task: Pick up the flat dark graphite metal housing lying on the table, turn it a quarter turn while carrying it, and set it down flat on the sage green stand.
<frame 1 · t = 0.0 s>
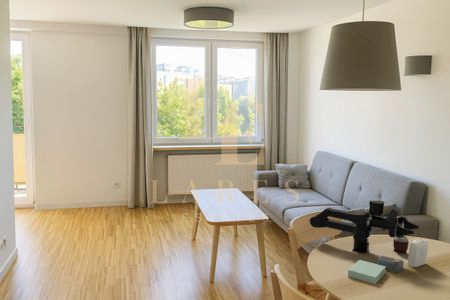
hand: (416, 229, 204), 17 cm above the table, tool horizontal, fingers open, 9 cm apart
graphite housing: (389, 268, 201), on the table
photo printer: (417, 264, 206), on the table
mate gourd: (399, 252, 221), on the table
sage stand: (366, 274, 194), on the table
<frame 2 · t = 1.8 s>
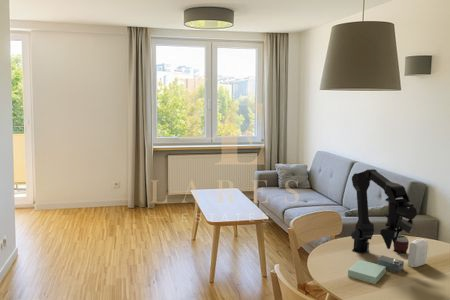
hand: (391, 245, 200), 11 cm above the table, tool pointing down, fingers open, 9 cm apart
nothing on the table moved.
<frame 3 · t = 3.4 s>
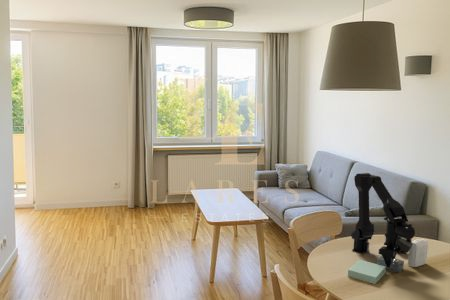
hand: (390, 264, 201), 2 cm above the table, tool pointing down, fingers closed on graphite housing, 6 cm apart
graphite housing: (389, 268, 201), on the table, touching gripper
everything else where it was.
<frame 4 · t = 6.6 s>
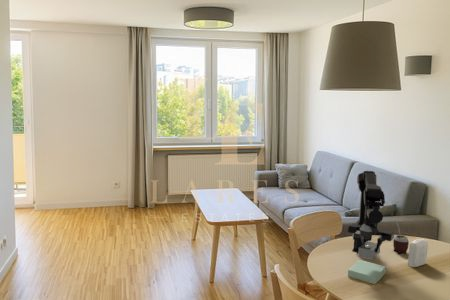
hand: (369, 250, 192), 11 cm above the table, tool pointing down, fingers closed on graphite housing, 6 cm apart
graphite housing: (369, 254, 192), point 9 cm above the table, touching gripper
everything else where it was.
when the fingers open (5 cm above the table, at t = 8.8 s): graphite housing stays where it is, resting on sage stand.
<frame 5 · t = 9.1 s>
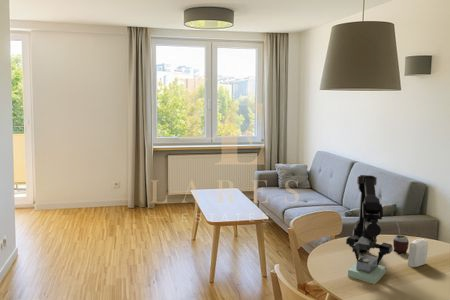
hand: (367, 262, 193), 5 cm above the table, tool pointing down, fingers open, 9 cm apart
graphite housing: (367, 268, 193), point 3 cm above the table, touching sage stand
everything else where it was.
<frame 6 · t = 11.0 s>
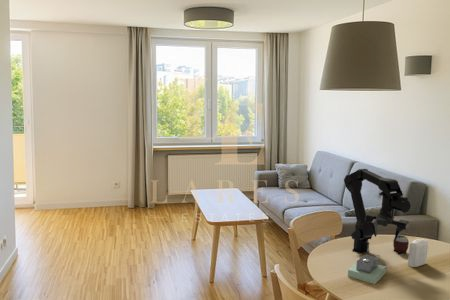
hand: (385, 238, 206), 12 cm above the table, tool pointing down, fingers open, 9 cm apart
nothing on the table moved.
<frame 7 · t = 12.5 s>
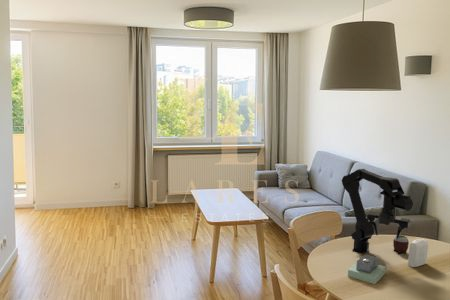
hand: (387, 237, 207), 12 cm above the table, tool pointing down, fingers open, 9 cm apart
nothing on the table moved.
at the end: graphite housing inside the target area on the sage stand (0.1 cm from its centre), point 3.0 cm above the sage stand's base; graphite housing tilted 0°; the gripper is holding nothing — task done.
